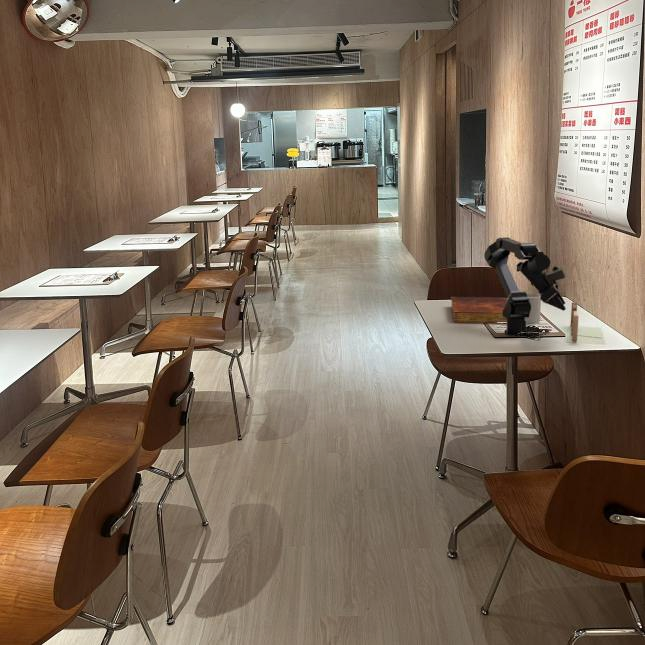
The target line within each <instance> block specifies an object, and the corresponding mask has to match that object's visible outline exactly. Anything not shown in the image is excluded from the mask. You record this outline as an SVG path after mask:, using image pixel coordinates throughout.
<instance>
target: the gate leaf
mask: <svg viewBox="0 0 645 645" xmlns="http://www.w3.org/2000/svg"><path fill="white" fill-rule="evenodd" d="M579 318H580V316H579V314H578V311H574V315H573V330H572V341H577V334H578V327H579V320H580V319H579Z"/></svg>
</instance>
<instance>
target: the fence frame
mask: <svg viewBox="0 0 645 645" xmlns="http://www.w3.org/2000/svg"><path fill="white" fill-rule="evenodd" d="M577 310H578V302H575V301H572V302H571V311H570V312H571V313H570V324H569V326H570V327H571V335H572V330H573V315H574V311H577ZM577 312H578V311H577Z"/></svg>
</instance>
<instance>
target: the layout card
mask: <svg viewBox="0 0 645 645" xmlns="http://www.w3.org/2000/svg"><path fill="white" fill-rule="evenodd" d="M564 332H565V333H564V335H565V343H574V344H575V343H577V344H578V343H579V344H592V345H593V344H594V345H606V341H605V337H604V333H603V328H602V327H593V326H578V334H577V341H572V335H571V327H570V325H565V326H564Z"/></svg>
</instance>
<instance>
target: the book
mask: <svg viewBox="0 0 645 645" xmlns="http://www.w3.org/2000/svg"><path fill="white" fill-rule="evenodd" d="M450 301H451V310H452V315H453V321H454V323H455V324H498V323H497V322H507V318H505V317H503V309H504V308H505V306H506V302H507V297H494V296H493V297H491V296H490V297H487V296H486V297H485V296H483V297H481V296H478V297H477V296H450Z"/></svg>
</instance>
